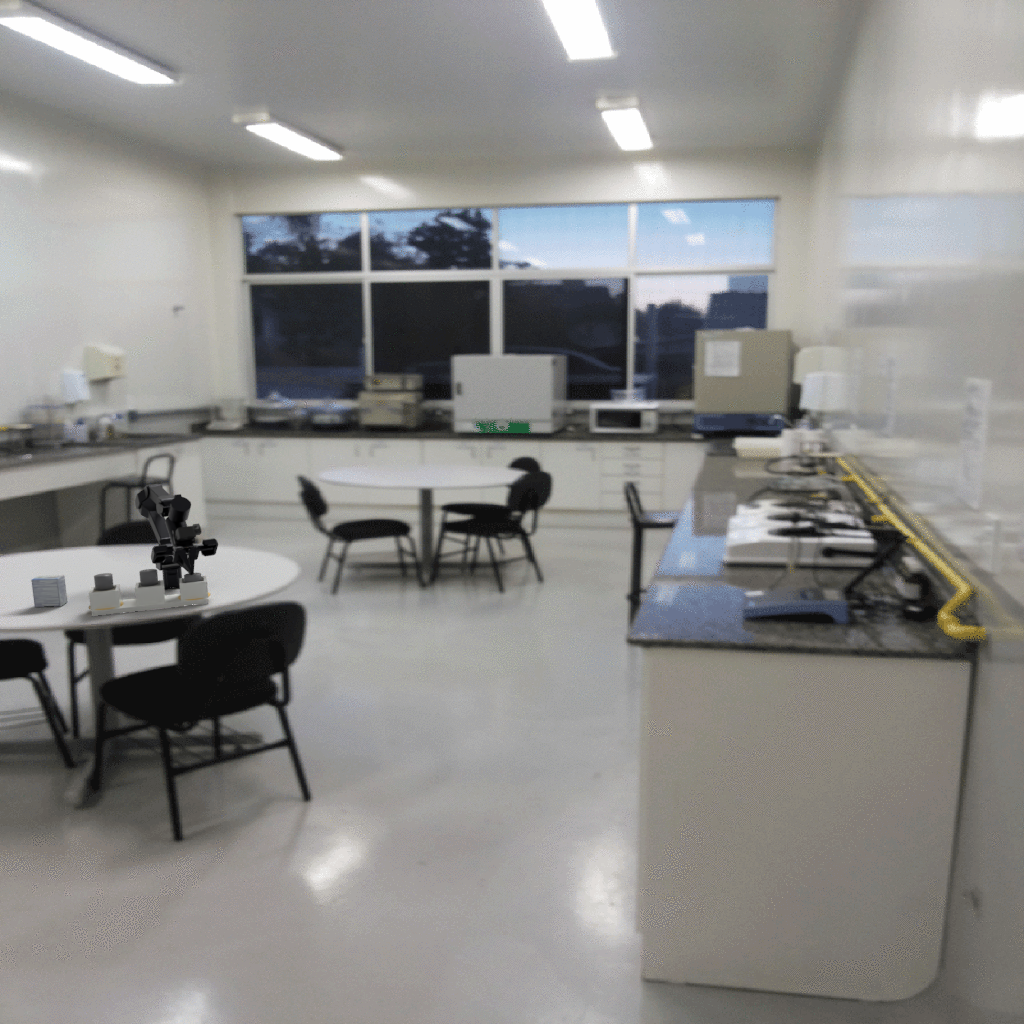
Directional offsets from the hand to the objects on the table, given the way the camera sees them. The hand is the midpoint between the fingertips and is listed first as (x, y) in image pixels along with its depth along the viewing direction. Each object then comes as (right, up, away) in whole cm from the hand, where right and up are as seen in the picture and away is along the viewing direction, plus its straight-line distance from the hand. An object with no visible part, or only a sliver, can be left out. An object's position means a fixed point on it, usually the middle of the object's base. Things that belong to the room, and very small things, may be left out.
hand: (192, 573), depth 262 cm
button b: (-11, -3, -4) cm, 12 cm away
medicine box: (-42, -10, +1) cm, 43 cm away
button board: (-11, -9, -3) cm, 15 cm away
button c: (-22, -4, -8) cm, 24 cm away
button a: (0, -4, +1) cm, 4 cm away
